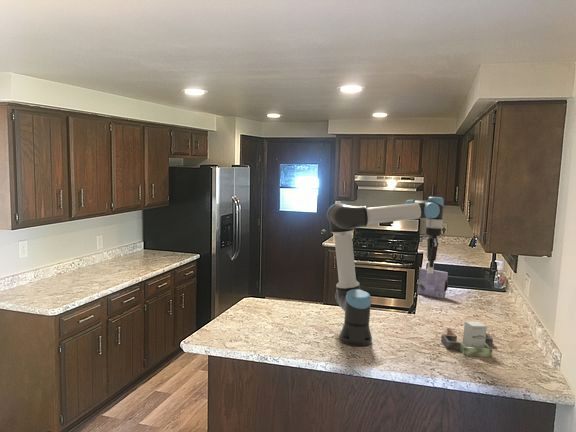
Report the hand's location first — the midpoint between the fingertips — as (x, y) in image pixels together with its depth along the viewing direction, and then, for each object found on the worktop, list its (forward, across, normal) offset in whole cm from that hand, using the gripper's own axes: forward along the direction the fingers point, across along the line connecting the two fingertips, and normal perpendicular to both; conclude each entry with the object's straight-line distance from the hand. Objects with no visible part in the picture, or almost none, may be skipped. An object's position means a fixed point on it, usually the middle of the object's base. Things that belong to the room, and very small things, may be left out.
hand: (430, 273), depth 245 cm
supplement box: (+31, -23, -17) cm, 42 cm away
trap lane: (+30, -18, -16) cm, 39 cm away
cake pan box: (+31, +77, -22) cm, 86 cm away
